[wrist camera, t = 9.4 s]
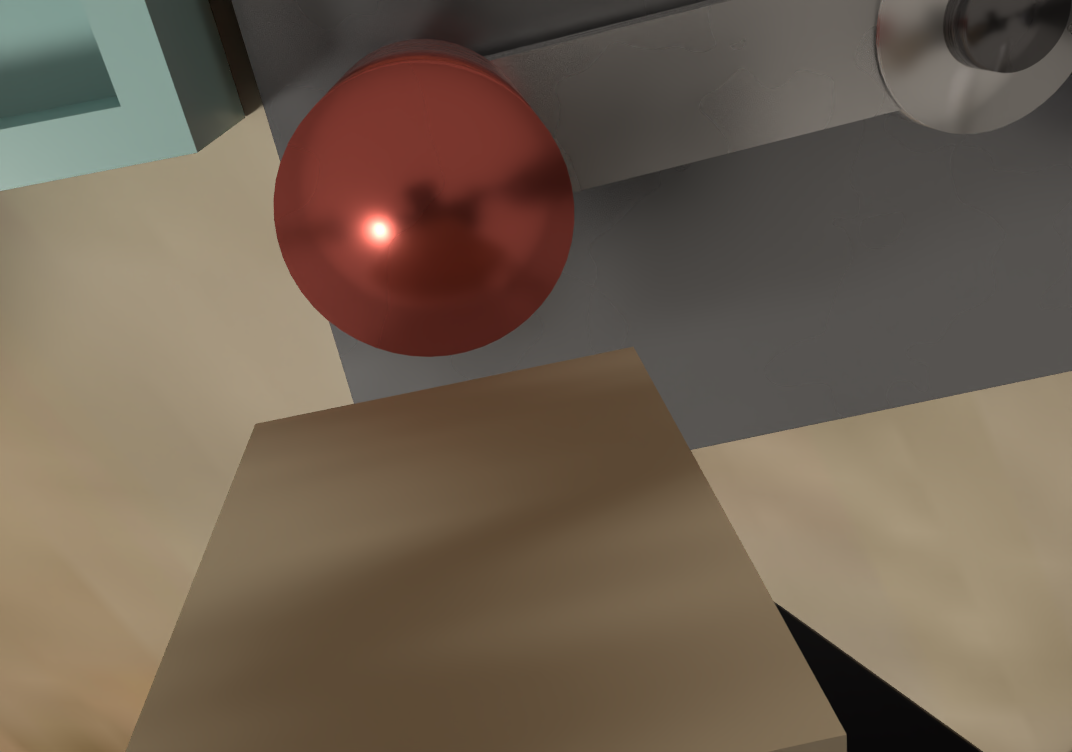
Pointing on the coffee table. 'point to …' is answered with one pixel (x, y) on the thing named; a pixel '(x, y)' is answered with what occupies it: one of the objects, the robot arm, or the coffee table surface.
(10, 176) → the tray
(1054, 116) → the bedplate
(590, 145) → the crank
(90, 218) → the coffee table surface
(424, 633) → the block
